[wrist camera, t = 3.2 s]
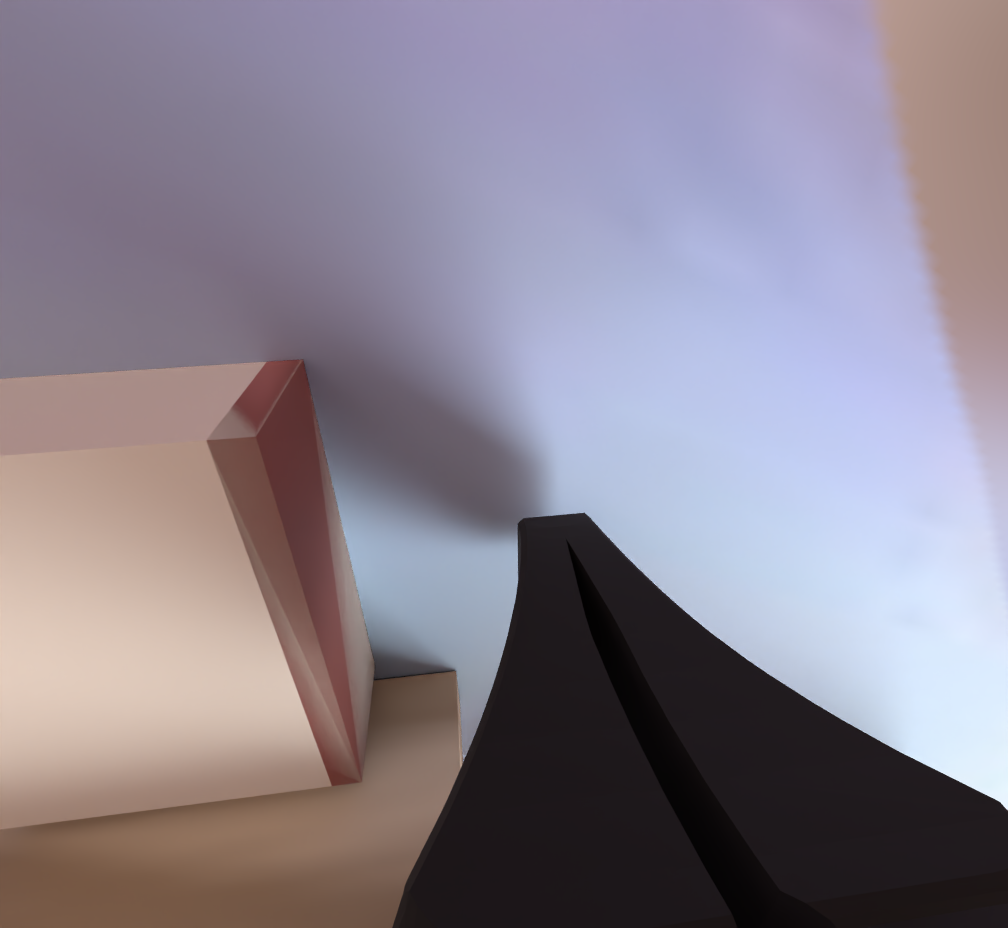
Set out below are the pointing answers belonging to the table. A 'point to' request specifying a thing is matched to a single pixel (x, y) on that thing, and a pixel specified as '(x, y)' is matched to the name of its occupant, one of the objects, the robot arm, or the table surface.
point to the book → (172, 594)
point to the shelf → (255, 841)
